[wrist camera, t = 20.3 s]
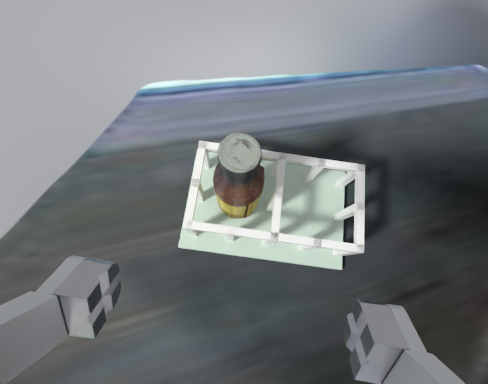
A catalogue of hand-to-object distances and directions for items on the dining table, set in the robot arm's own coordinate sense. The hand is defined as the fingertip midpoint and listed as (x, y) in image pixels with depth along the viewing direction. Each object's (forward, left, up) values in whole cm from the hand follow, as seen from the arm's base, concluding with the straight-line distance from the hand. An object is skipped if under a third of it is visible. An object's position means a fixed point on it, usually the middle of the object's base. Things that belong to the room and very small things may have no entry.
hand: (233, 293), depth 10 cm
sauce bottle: (0, -11, -33) cm, 35 cm away
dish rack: (-5, -11, -34) cm, 36 cm away
